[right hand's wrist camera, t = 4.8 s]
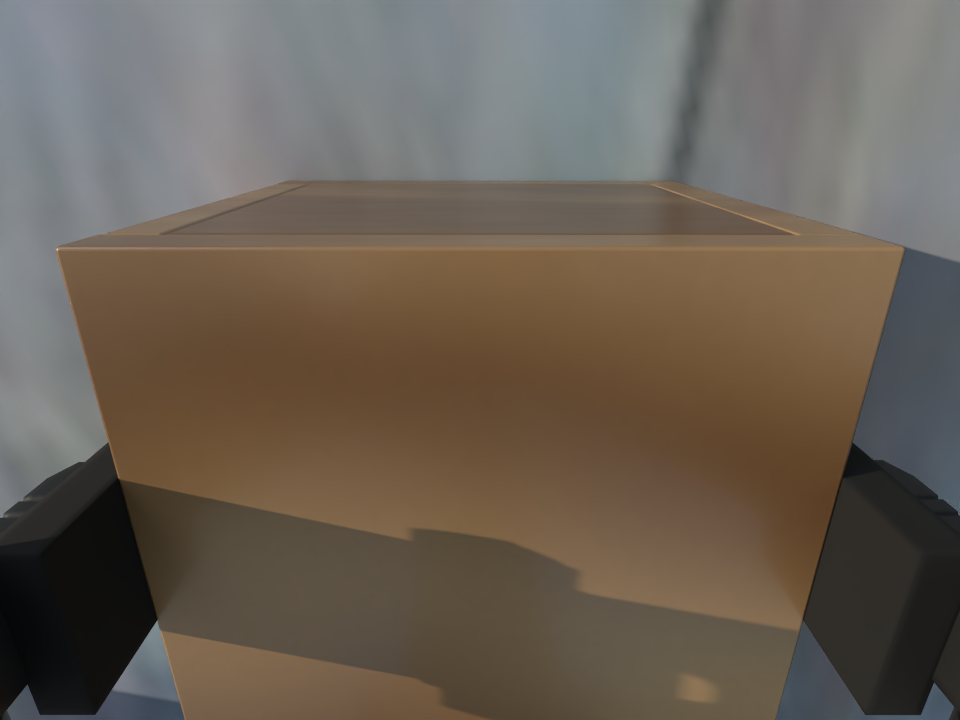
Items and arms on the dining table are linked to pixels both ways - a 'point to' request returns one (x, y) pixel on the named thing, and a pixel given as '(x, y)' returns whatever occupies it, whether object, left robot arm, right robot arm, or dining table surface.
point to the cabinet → (480, 442)
